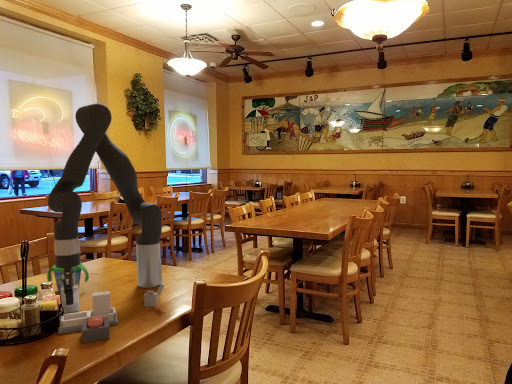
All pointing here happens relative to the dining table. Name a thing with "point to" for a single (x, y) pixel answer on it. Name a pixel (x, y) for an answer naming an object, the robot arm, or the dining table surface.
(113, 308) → the grey slotted holder
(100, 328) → the button housing
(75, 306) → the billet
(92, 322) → the button
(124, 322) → the dining table surface
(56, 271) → the snack cup
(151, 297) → the lighter
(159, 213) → the robot arm
